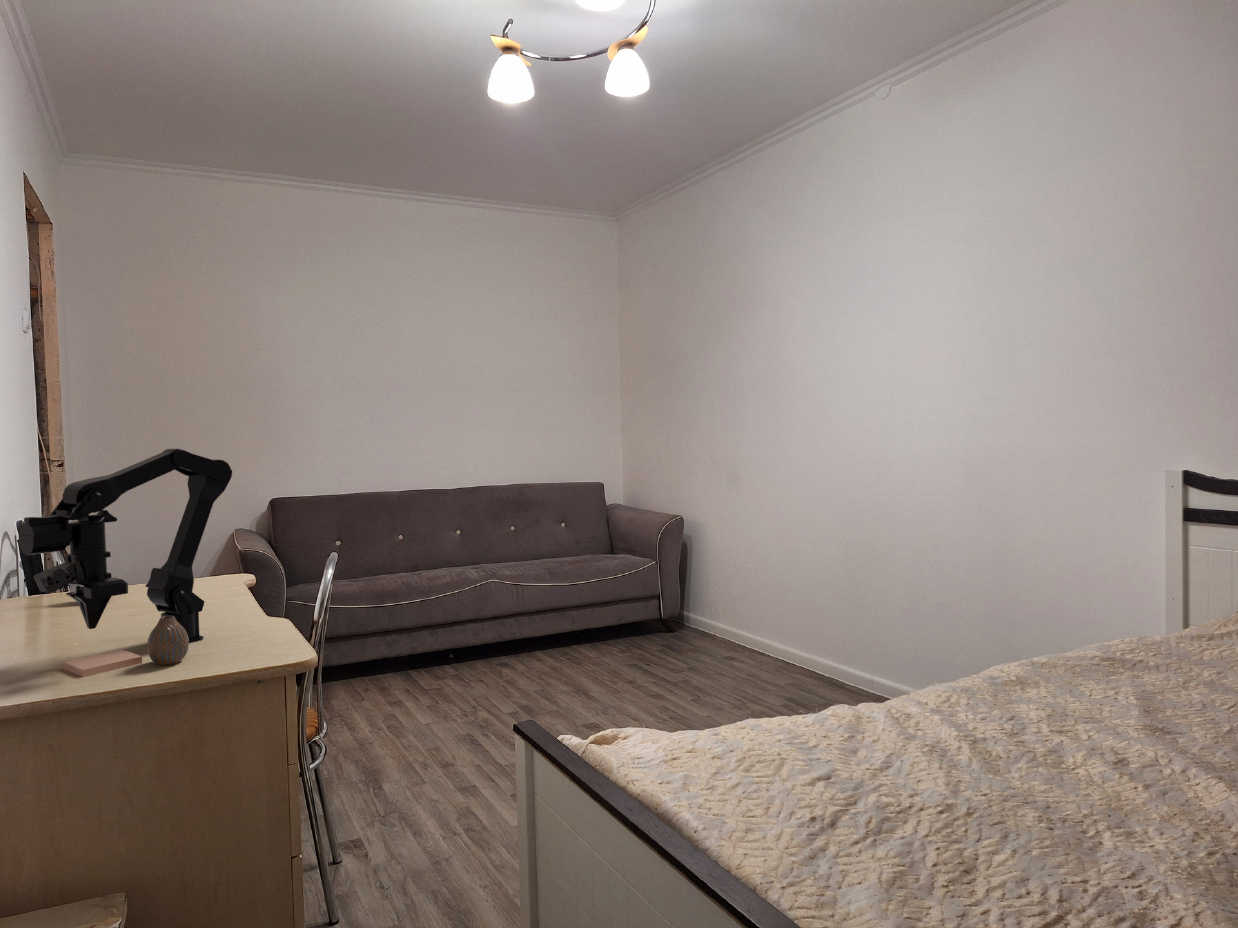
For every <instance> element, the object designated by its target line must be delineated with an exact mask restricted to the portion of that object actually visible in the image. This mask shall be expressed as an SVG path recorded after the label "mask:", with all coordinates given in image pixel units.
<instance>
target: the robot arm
mask: <svg viewBox="0 0 1238 928" xmlns="http://www.w3.org/2000/svg"><path fill="white" fill-rule="evenodd" d="M173 471H175V472H178V473H179V474H181V475H184V476H186V477H188V479H187V488H188V489H187V490H188V495H189V497H188V500H187V502H186V506H185V508H184V512H183V514H182V518H181V521H180V523H179V525H178V528H177V531H176V535H175V537H174V540H173V543H172V546H171V549H170V552H169V555H168V557H167V560H166V562H165V563H164V564H163V565H162V566H161V567H160V568H159V567H153V568H151V569H152V570H151V572H150V577H149V579H148V582H146V584H145V587H146V588H147V590H146V596H147V597H148V599H149V601H150V603H152V604H153V605H154V606H155V608H156V610H157V612H161V613H160V618H161V617H164V616H174V617H175V619H176V620H177V622H178V623H179V624H180V625H182V626H183V628H184V629H185V630H186V632H187V634H188V638H189V643H192V642H195V641H200V640H204V635H201V634H200V616H199V613H200V612H202V611H203V608H204V606H205V600H203V599H202V598H200V596H198V595H196V594H195V593H194V592H193V590H194V583H195V579H194V572H193V566H194V565H193V564H194V561H195V559H196V556H197V553H198V550H199V547H200V544H201V541H202V538H203V535H204V532H205V529H206V526H207V523H208V521H209V518H210V514H211V512H212V509H213V506H214V503H215V502H216V501H217V499H218V498H220V496H221V495H222V494H223V493H224V492H225V491H226V489H227V487H228V485H229V483H230V481H231V479H232V477H233V469H232V468H231V466H230V465H229V463H228V462H227V461H225V460H223V459H216V458H215V459H213V458H212V459H211V458H208V457H205V456H202V455H199V454H195V453H191V452H189V451H187V450H185V449H183V448H167V449H165V450H163V451H161V452H160V453H157V454H156V455H153V456H150V457H149V458H146V459H144V460H141V461H139V462H137V463H134V464H132V465H130V466H127V467H124V468H122V469H120V470H117V471H116V472H113V473H110V474H107V475H102V476H96V477H90V478H87V479H82V480H79V481H74V482H71V483H70V484H67V486H65V488H64V489H63V493H62V498H61V500H60V501H59V502H58V504H57V505H56V507H54V509H53V510H52V511H51V513H50V514H49V515H48V516H27V517H26V516H25V517H24V518H23V525H22V526H21V528H20V530H19V534H18V543H19V547H20V550H21V551H22V553H23V555H25V556H33V555H40V554H49V553H56V552H63V551H64V550H66V548H67V547H69V553H66V554H65V555H64V562H63V563H60V564H57V565H55V566H52V567H50V568H48V569H45V570H44V571H41V572H39V573H36V574H35V575H33V579H34V581H35V583H36V584H37V585H36V586H37V587H38V589H39V591H40V592H42V593H43V592H44V593H45V594H52V593H55V592H57V591H60V590H62V589H64V588H65V587H69V588H70V589H69V590H70V592H66V593H65V594H66V595H65V596H68V597H69V598H71V599H73V600H74V601H76V602H77V604H78V606H79V607H78V608H80V611H81V614H82V618H83V619H84V622H85V625H86V627H87V629H89V630H93V629H96V628H97V626H98V623H99V622H100V620H101V617H102V616H103V614H104V611H105V609H106V607H107V605H108V604H109V602H110V601H111V598H112V597H115V596H121V595H126V594H128V593H129V582H127V581H125V579H122V578H119V577H115V576H114V577H112V572H110V571H109V572H108V564H107V563H108V562H107V560H108V559H107V558H111V557H112V555H111V551H108V550H107V541H106V540H107V539H106V523H115V522H117V521H118V517H115V516H114V515H112V514H111V513H110V511H108V509H106V508H108V507H109V506H111V505H112V504H114V503H115V502H117V500H119V499H120V497H121V496H122V495H124V494H125V493H127V492H128V491H130V490H133V489H135V488H137V487H140V486H142V485H144V484H146V483H148V482H151V481H152V480H156V479H157V478H159V477H161V476H164V475H166V474H168V473H171V472H173ZM94 513H96V514H94Z"/></svg>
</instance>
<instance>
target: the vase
mask: <svg viewBox="0 0 1238 928" xmlns="http://www.w3.org/2000/svg"><path fill="white" fill-rule="evenodd" d="M189 646H190V642H189V638H188V634H187V632H186V630H185V629H184V628H183V626H182V625H180V624H179V623H178V622H177V620H176V619H175V617H174V616H164V617H161V616H160V617H159V620H158V621H157V623H156V625H155V626H154V628H152V630H151V632H150V634H149V636H148V639H147V643H146V648H147V654H148V657H149V658H150V660H151V661H152V662H153V663H154V664H156V665H158V666H172V665H175V664H178V663H181V662H182V660H184V658H185V657H186V656H187V654H188V651H189V648H190V647H189Z"/></svg>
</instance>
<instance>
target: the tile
mask: <svg viewBox="0 0 1238 928" xmlns="http://www.w3.org/2000/svg"><path fill="white" fill-rule="evenodd" d="M61 663H62V669H63V670H65V671H67V672H70V673H72V674H75V675H78V676H80V677H82V678H85V677H89V676H92V675H97V674H101V673H105V672H106V673H107V672H110V671H114V670H118V669H124V668H127V667H131V666H136V665H139V664H143V656H142V655H139V654H136V653H134V652H131V651H127V650H124V649H115V650H111V651H106V652H101V653H97V654H91V655H88V656H82V657H77V658H73V659H68V660H64V661H62V662H61Z"/></svg>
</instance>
